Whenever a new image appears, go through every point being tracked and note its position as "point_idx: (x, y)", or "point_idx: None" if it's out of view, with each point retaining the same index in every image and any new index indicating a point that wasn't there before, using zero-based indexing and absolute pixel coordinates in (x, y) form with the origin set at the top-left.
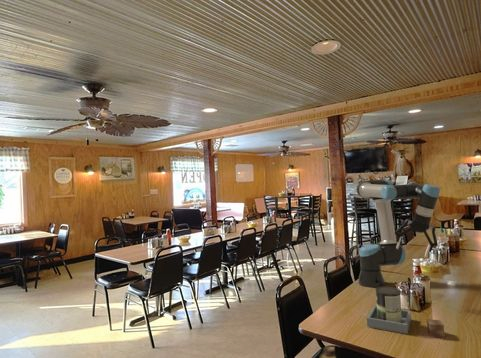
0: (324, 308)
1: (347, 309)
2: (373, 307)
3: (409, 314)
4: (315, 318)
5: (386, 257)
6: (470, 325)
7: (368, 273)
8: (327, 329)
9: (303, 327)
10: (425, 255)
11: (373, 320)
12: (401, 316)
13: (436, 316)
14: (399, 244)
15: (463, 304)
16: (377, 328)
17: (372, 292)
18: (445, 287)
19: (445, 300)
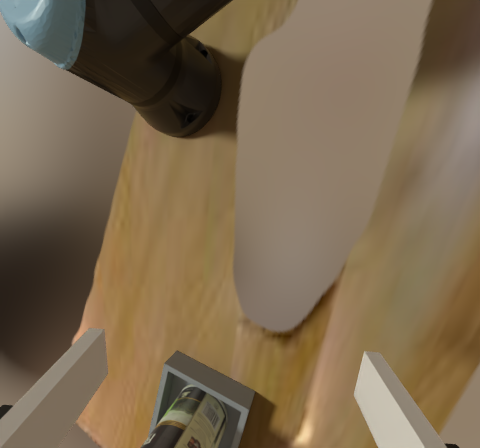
0: (85, 319)
1: (125, 325)
2: (163, 376)
3: (241, 431)
4: None
5: (165, 18)
6: None
7: (142, 109)
8: (100, 421)
9: None
10: (364, 405)
11: None
12: (220, 439)
13: (328, 376)
14: (68, 430)
15: (469, 272)
16: None
17: (180, 188)
18: (474, 53)
19: (407, 235)
